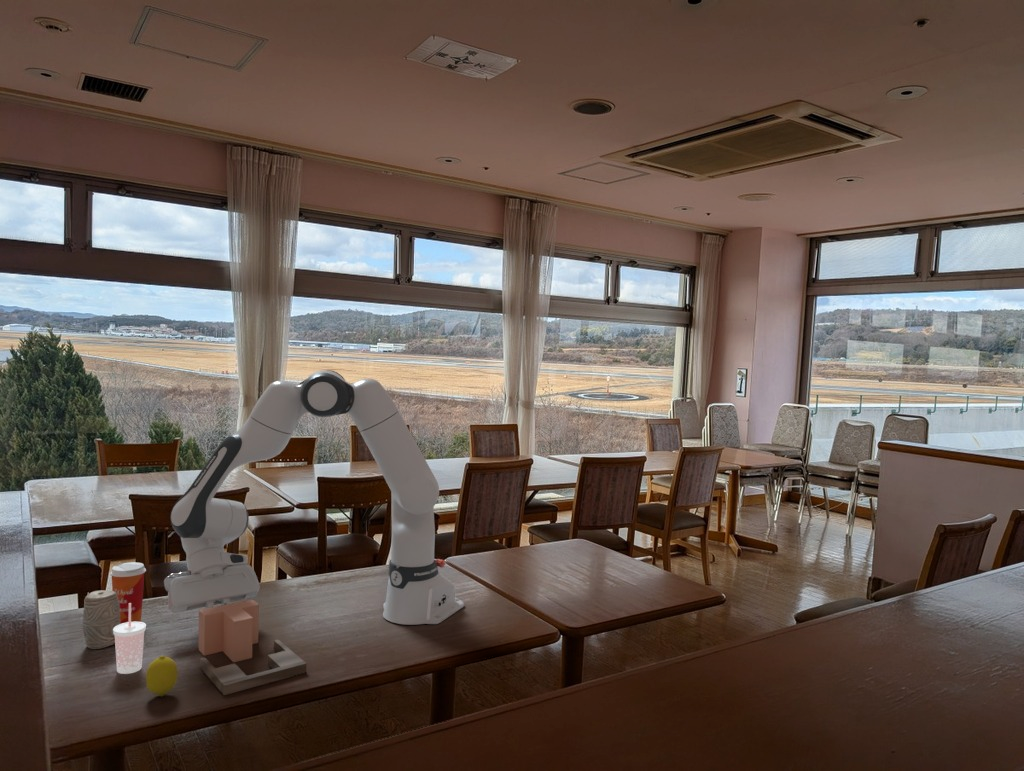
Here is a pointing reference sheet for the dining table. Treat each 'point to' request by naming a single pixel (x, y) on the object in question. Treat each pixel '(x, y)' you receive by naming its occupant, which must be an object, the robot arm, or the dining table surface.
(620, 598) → the dining table surface
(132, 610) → the paper cup
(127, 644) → the beverage cup
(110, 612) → the carving
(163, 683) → the lemon
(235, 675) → the t dock
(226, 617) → the t block
